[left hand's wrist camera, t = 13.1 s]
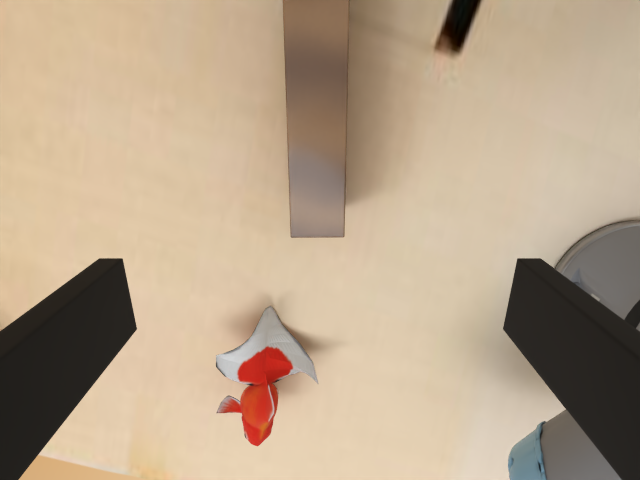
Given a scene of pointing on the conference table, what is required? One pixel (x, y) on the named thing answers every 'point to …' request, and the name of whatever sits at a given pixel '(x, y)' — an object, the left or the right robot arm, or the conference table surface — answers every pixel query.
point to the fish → (262, 373)
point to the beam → (316, 114)
